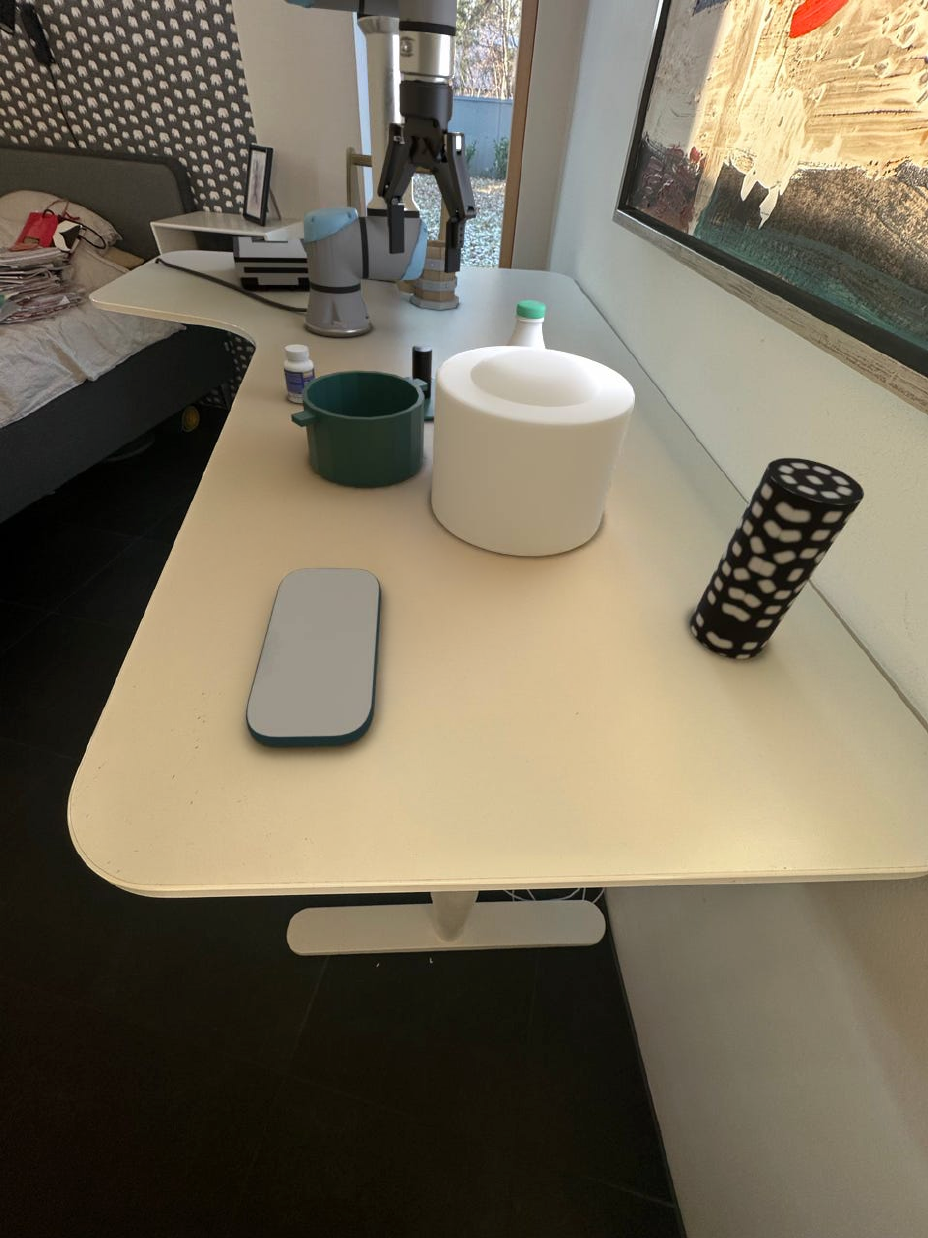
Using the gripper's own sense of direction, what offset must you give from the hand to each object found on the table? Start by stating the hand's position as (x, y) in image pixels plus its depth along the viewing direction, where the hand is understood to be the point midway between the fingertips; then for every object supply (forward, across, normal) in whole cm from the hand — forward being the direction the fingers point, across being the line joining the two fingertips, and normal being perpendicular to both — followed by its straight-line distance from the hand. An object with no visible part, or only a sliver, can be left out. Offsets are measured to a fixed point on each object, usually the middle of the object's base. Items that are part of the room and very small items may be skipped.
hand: (423, 262), depth 89 cm
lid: (+22, 0, 0) cm, 22 cm away
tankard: (+23, -51, +45) cm, 72 cm away
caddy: (+24, -73, +55) cm, 95 cm away
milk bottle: (+23, +18, +7) cm, 30 cm away
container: (+23, +36, -13) cm, 45 cm away
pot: (+23, +12, -22) cm, 34 cm away
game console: (+24, -91, +23) cm, 96 cm away
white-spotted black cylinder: (+22, +70, -14) cm, 75 cm away
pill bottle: (+23, -13, -18) cm, 32 cm away
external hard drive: (+22, +43, -51) cm, 70 cm away
